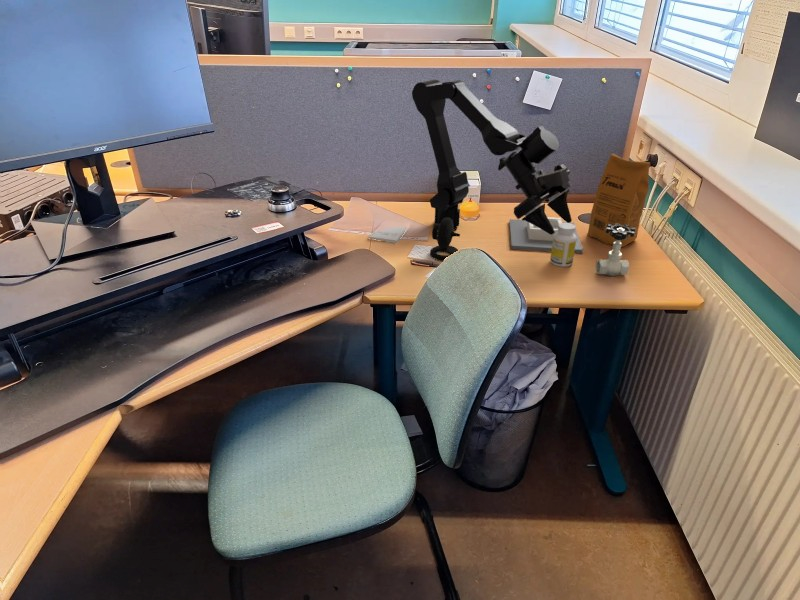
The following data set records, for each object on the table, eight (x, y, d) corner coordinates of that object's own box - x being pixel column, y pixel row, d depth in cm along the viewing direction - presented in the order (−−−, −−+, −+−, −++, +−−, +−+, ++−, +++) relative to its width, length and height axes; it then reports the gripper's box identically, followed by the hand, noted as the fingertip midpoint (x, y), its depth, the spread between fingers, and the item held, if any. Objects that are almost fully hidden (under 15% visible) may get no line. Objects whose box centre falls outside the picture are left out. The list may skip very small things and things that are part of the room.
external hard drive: (410, 228, 156) (397, 245, 146) (383, 224, 158) (368, 241, 148) (411, 222, 155) (397, 240, 145) (383, 219, 157) (368, 236, 147)
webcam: (435, 246, 144) (436, 211, 139) (462, 251, 141) (465, 215, 136) (425, 259, 138) (426, 222, 132) (454, 264, 135) (456, 226, 130)
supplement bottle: (570, 258, 138) (576, 221, 133) (574, 267, 133) (580, 230, 128) (548, 257, 138) (554, 221, 133) (551, 266, 134) (557, 229, 129)
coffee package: (601, 226, 155) (617, 148, 144) (641, 240, 147) (661, 159, 136) (580, 235, 150) (594, 155, 139) (620, 250, 142) (639, 167, 130)
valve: (592, 268, 133) (602, 222, 127) (620, 268, 133) (630, 222, 127) (600, 281, 128) (610, 234, 122) (629, 281, 127) (640, 234, 121)
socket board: (511, 249, 142) (512, 234, 140) (509, 222, 158) (510, 209, 156) (582, 253, 140) (585, 238, 138) (573, 225, 156) (575, 212, 154)
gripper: (530, 164, 120) (570, 223, 120) (568, 146, 133) (604, 200, 132) (497, 191, 129) (533, 246, 128) (535, 172, 141) (569, 222, 141)
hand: (561, 227), depth 132 cm, fingers open, 9 cm apart
